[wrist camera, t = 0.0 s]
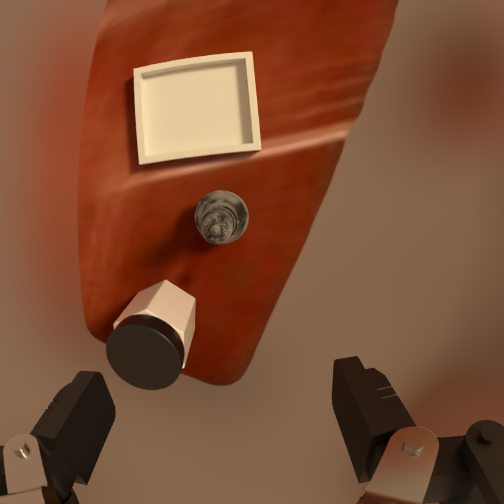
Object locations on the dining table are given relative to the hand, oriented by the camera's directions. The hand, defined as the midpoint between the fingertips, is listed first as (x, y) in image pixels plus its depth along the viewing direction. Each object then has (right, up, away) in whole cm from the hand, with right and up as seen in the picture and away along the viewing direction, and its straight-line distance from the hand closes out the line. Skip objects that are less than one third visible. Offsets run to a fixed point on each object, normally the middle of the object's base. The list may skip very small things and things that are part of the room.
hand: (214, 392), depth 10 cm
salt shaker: (-2, +9, +28) cm, 30 cm away
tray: (-5, +22, +24) cm, 33 cm away
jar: (-10, -3, +31) cm, 33 cm away
